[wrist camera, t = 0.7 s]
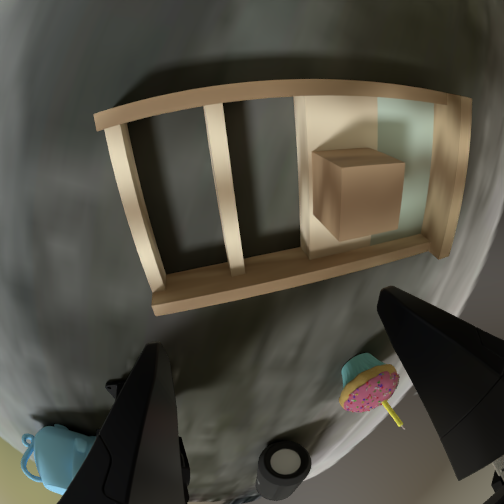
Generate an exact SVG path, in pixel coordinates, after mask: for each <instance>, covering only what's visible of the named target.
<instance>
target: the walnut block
mask: <svg viewBox="0 0 504 504" xmlns="http://www.w3.org/2000/svg"><path fill="white" fill-rule="evenodd" d="M404 172H405V162H403V161H400V160H398V159H396V158H393V157H391V156H389V155H386V154H384V153H382V152H379V151H377V150H374V149H372V148H352V149H338V150H326V151H315V152H312V182H313V215H314V216H315V217H316V218H317V219H318V220H319V221H320V222H321V223H322V224H323V225H324V227H325V228H326V229H327V230H328V231H329V232H330V233H331V234H332V235H333V236H334V237H335V238H336V239H337V240H338V241H339V242H341V241H346V240H351V239H355V238H360V237H365V236H369V235H374V234H378V233H383V232H387V231H392V230H396V229H398V224H399V217H400V210H401V202H402V193H403V183H404Z"/></svg>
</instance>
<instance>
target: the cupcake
mask: <svg viewBox="0 0 504 504" xmlns="http://www.w3.org/2000/svg"><path fill="white" fill-rule="evenodd" d="M342 377H343V391H342V392H341V396H340V398H339V402H340V404H341V406H342V407H343V408H344V409H345V410H347V411H352V412H365V411H370V410H371V409H373V408H375V407H377V406H379V405H382V404H383V406H384V407H385V408H386V410H387V411H388V412H389V414H390V415H391V416H392V418H393V419H394V420H395V422H396V423H397V425H398V426H399V427H400V426H401V427H403V425H402V424H403V423H402V421H401V420H400V418H399V417H398V416H397V415H396V413H395V412H394V410H393V409H392V408H391V406H390V405H389V404H388V402H387V400H388V399H389V398H390V397H391V396H392V394H393V393H394V391H395V388H396V389H397V386H398V382H399V378H400V377H399V374H397V371H396V369H395V368H394V366H392V365H390V364H385V363H383V362H381V361H379V360H377V359H376V358H375V357H374V356H372V355H371V354H369V353H363V354H359V355H357V356H355V357H353V358H352V359H350V360H349V361H348V362H347V363H346V364H345V365H344V366H343V368H342ZM403 429H405V428H404V427H403Z"/></svg>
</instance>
